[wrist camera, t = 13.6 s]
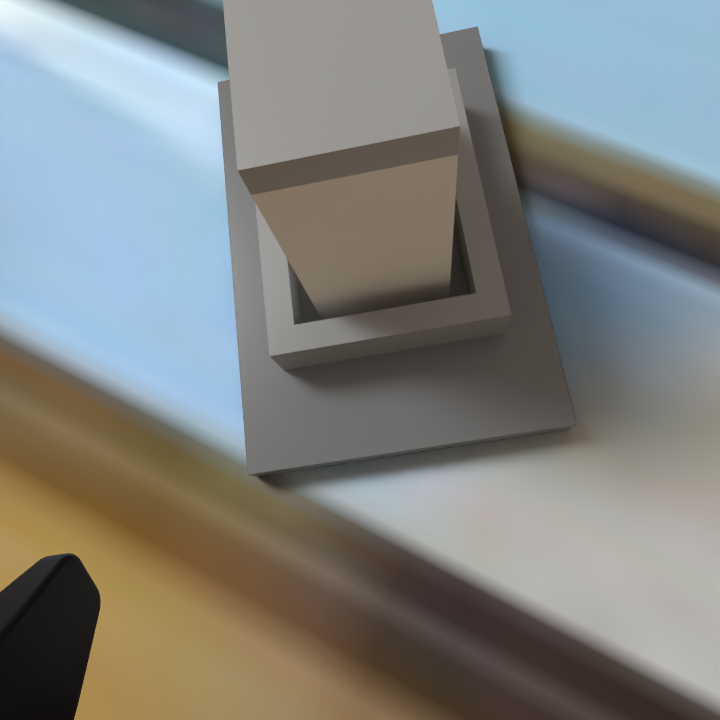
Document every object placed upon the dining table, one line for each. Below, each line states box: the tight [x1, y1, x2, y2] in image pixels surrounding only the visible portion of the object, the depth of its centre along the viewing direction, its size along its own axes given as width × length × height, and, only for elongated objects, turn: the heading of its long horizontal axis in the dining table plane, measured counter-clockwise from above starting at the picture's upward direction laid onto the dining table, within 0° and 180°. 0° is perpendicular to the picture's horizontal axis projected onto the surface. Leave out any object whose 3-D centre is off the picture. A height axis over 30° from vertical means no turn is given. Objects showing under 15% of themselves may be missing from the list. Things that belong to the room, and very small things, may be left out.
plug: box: [223, 0, 460, 320], centre depth 18 cm, size 5×7×10 cm
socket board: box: [218, 27, 576, 476], centre depth 22 cm, size 12×18×3 cm, turn 8°
